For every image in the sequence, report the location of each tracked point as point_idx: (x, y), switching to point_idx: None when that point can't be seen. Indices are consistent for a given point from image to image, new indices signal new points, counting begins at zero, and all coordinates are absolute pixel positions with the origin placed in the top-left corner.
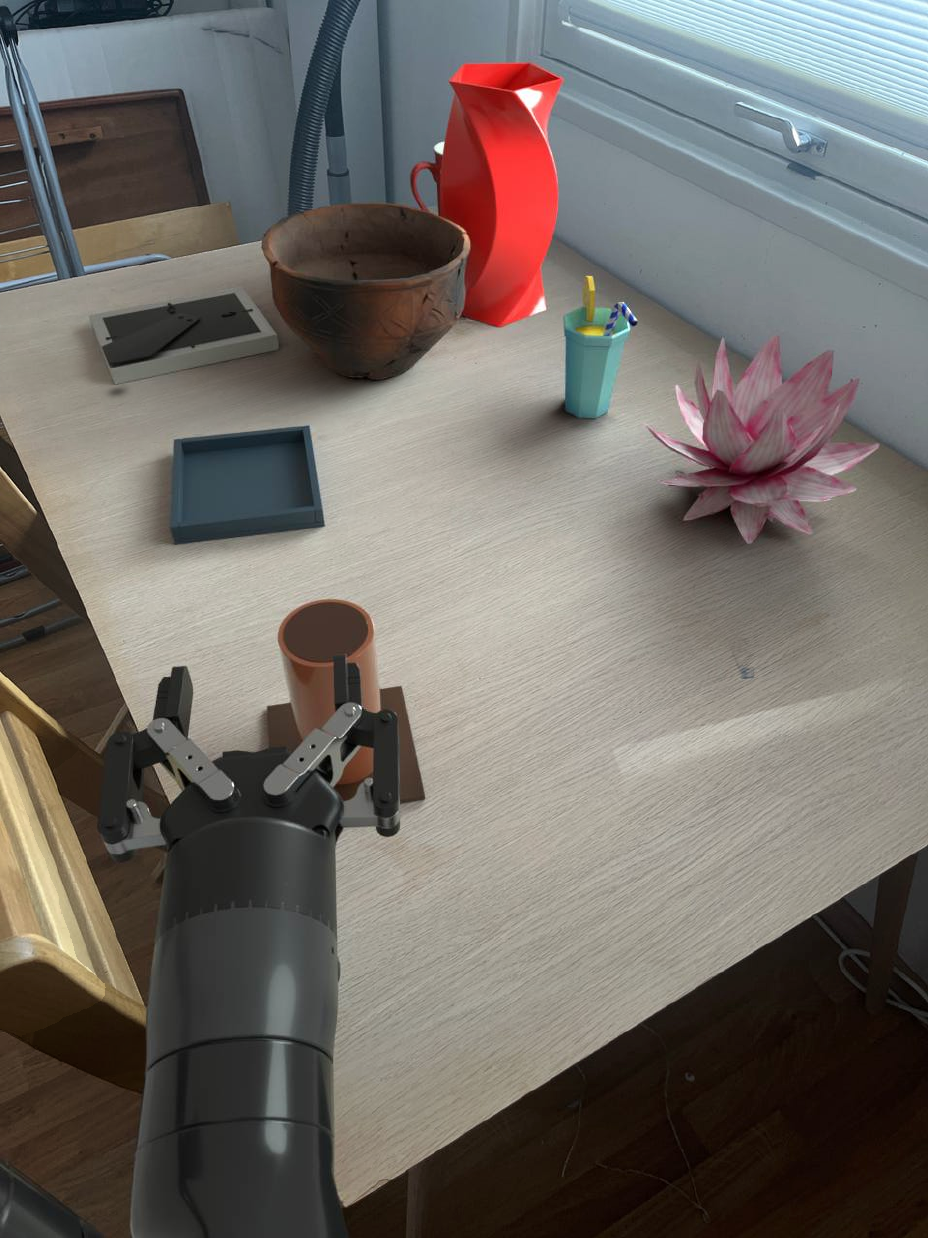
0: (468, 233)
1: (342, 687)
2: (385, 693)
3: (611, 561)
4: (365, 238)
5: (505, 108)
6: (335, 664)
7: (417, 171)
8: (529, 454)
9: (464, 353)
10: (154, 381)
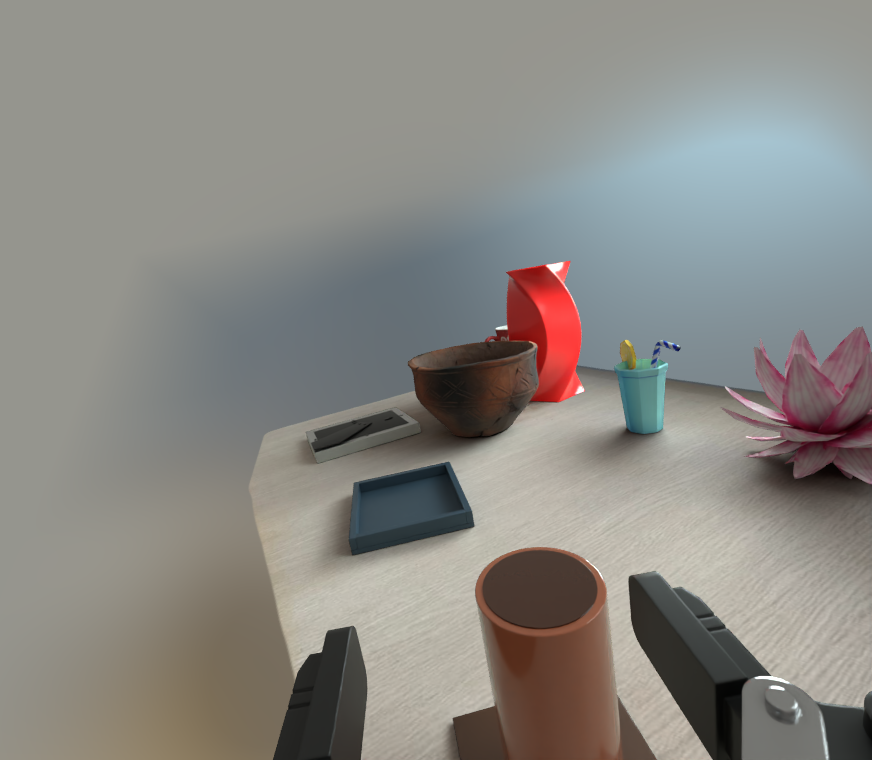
0: None
1: (703, 638)
2: None
3: (750, 521)
4: (467, 363)
5: (541, 277)
6: (648, 591)
7: (488, 340)
8: (619, 459)
9: (541, 416)
10: (342, 458)
